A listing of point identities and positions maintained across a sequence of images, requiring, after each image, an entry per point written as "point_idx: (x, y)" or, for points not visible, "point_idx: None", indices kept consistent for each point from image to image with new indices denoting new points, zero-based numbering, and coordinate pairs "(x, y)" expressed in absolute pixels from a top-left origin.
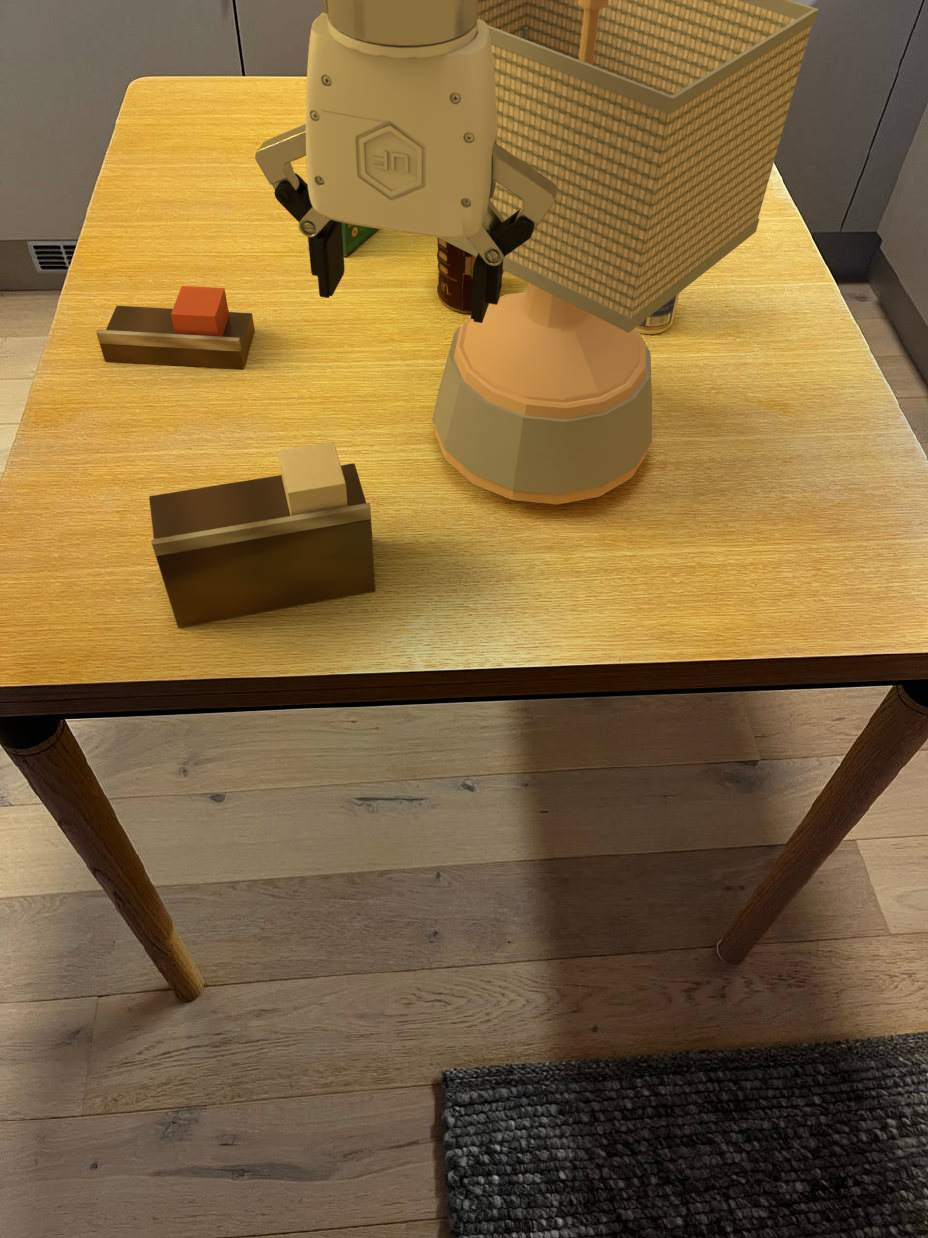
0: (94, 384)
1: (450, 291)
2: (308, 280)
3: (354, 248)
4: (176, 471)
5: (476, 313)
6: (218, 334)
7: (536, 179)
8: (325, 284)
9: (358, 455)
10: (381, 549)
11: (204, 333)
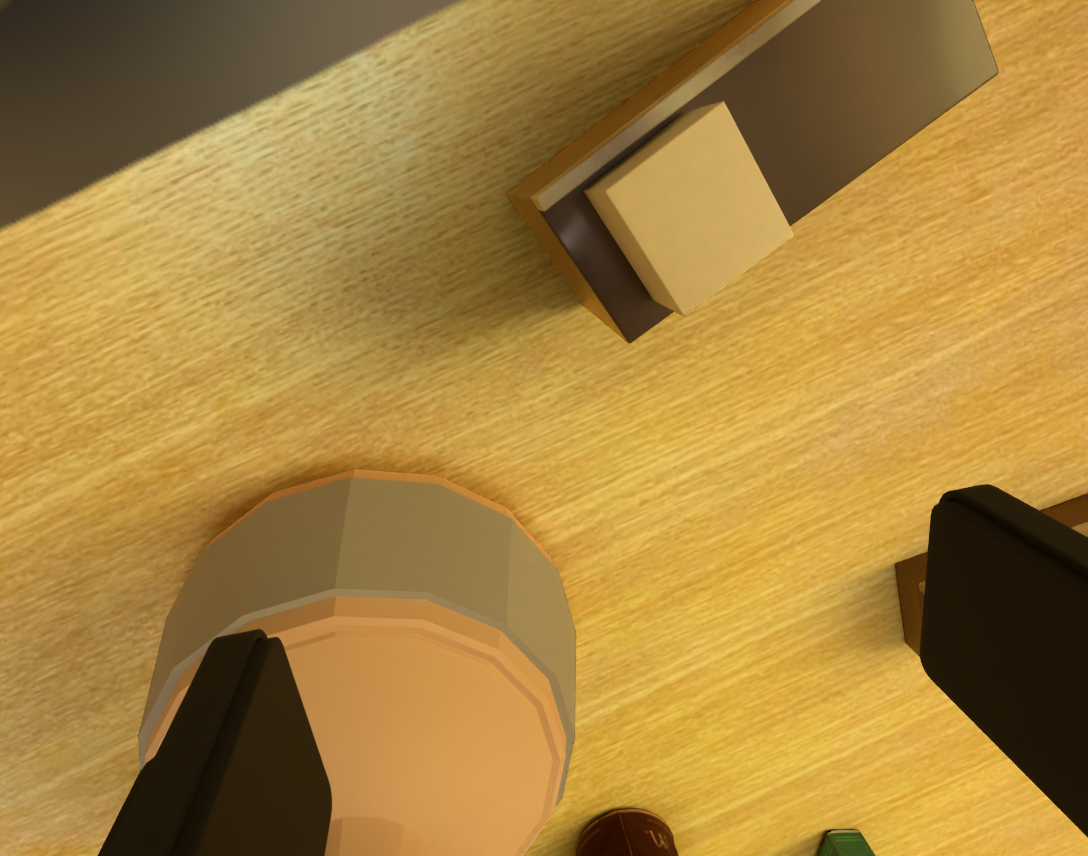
0: None
1: (647, 836)
2: (863, 766)
3: (820, 849)
4: (923, 317)
5: (227, 659)
6: None
7: None
8: (1006, 518)
9: (656, 473)
10: (536, 292)
11: None
